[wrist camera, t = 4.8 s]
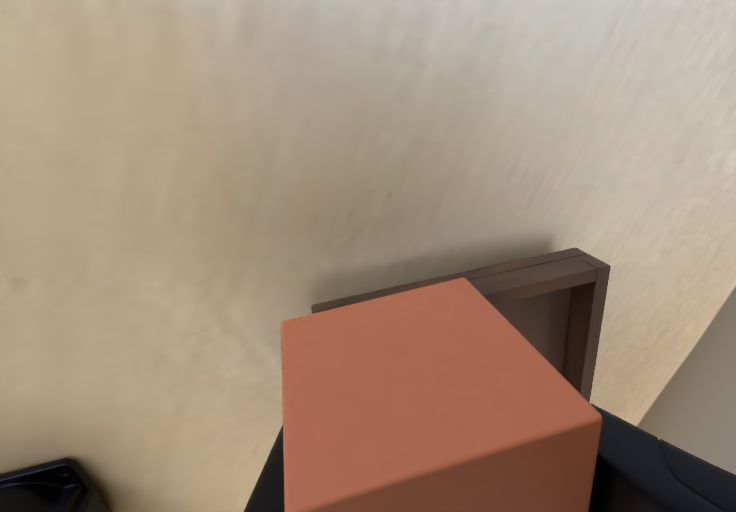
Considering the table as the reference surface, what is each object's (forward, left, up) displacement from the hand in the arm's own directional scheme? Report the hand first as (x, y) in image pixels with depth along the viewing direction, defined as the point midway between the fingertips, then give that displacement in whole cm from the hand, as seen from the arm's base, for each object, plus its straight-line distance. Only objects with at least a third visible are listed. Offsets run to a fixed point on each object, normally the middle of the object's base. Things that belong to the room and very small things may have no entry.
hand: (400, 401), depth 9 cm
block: (0, 0, -1) cm, 1 cm away
